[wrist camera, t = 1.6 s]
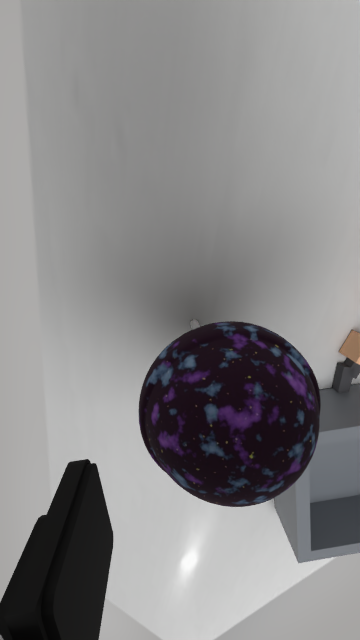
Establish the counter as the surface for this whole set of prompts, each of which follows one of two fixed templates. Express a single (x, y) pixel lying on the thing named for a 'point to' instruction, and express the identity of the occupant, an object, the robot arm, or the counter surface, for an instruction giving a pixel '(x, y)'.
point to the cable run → (348, 363)
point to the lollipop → (231, 413)
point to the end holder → (327, 485)
